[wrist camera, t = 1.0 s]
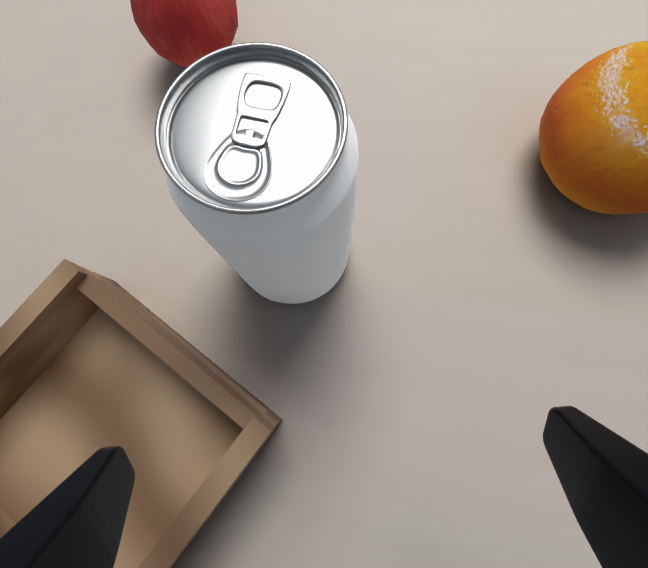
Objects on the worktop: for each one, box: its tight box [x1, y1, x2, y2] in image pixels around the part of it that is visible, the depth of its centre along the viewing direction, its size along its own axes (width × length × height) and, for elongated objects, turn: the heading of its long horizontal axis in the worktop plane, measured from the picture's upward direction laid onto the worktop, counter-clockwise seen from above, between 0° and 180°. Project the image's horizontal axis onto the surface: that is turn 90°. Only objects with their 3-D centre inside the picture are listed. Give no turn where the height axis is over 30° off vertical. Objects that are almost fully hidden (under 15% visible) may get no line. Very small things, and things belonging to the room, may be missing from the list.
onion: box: [130, 0, 238, 67], centre depth 22 cm, size 6×6×8 cm
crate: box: [0, 259, 282, 568], centre depth 19 cm, size 13×13×4 cm
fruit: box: [539, 41, 648, 214], centre depth 20 cm, size 8×8×8 cm
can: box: [155, 42, 359, 304], centre depth 17 cm, size 6×6×12 cm
